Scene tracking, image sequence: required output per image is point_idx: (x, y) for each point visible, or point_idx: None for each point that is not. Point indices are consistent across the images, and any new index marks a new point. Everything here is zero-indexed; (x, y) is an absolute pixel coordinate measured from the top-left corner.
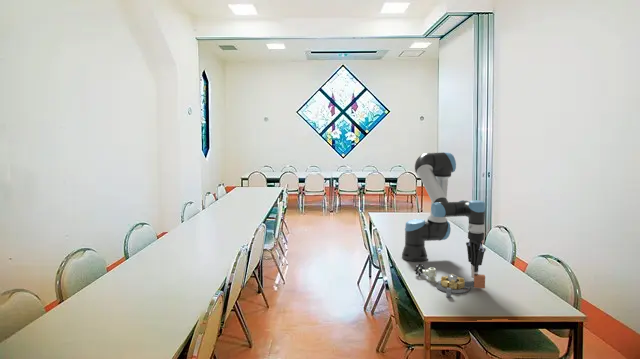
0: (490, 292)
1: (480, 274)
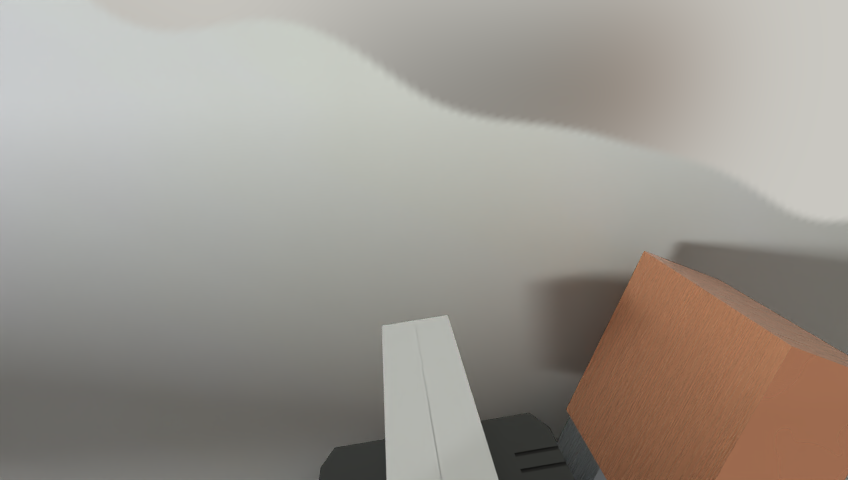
0: (764, 200)
1: (740, 441)
